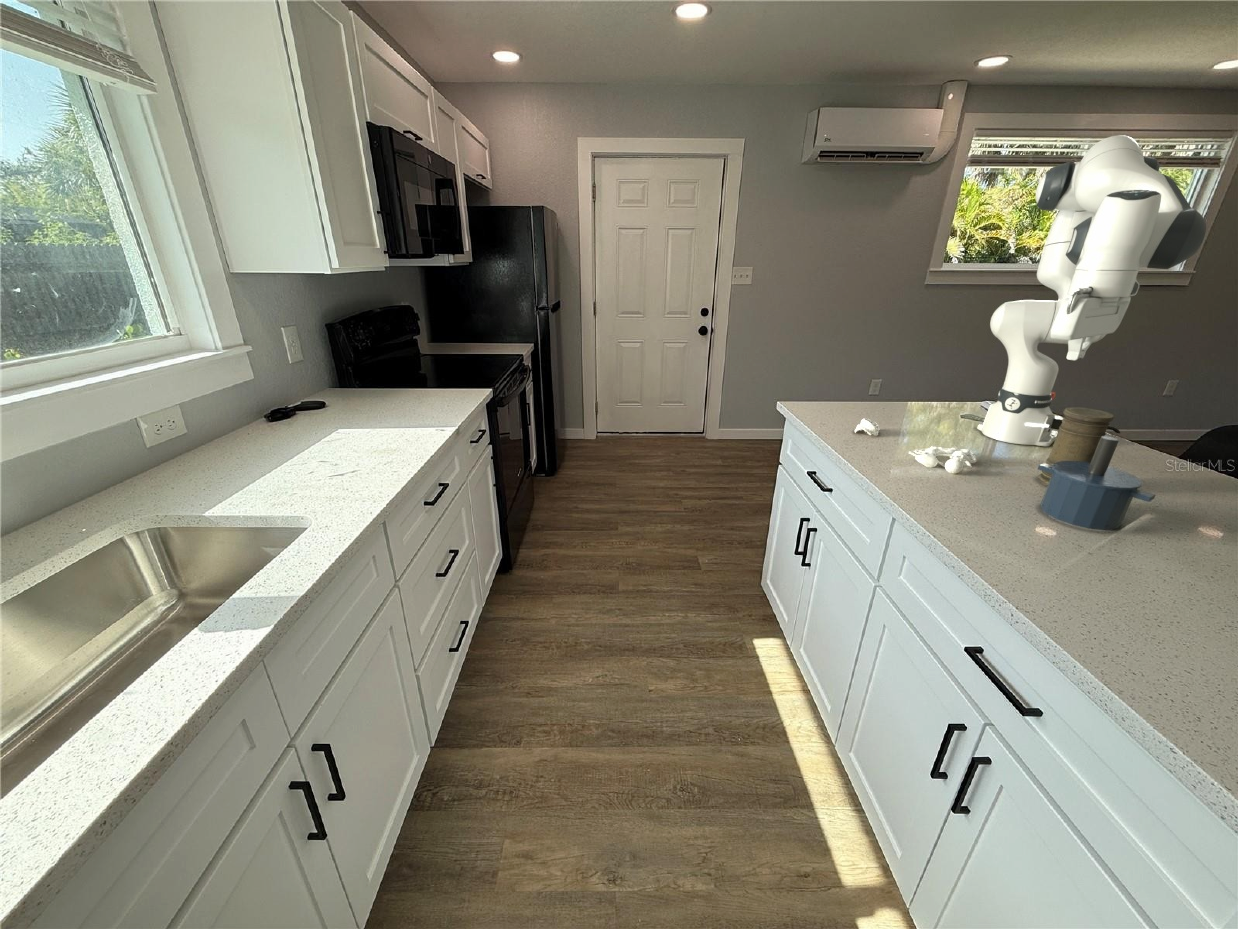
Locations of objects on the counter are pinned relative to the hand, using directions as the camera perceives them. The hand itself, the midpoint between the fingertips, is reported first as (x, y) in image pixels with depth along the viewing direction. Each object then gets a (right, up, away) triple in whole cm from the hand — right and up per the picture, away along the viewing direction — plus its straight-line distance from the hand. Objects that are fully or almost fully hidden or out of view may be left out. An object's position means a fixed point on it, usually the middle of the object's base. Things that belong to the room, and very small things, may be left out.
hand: (1074, 359), depth 98 cm
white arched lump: (-15, -12, +53) cm, 56 cm away
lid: (+4, -23, 0) cm, 24 cm away
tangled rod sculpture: (-7, -21, +31) cm, 38 cm away
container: (+14, -26, +18) cm, 35 cm away
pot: (+4, -32, +4) cm, 33 cm away
